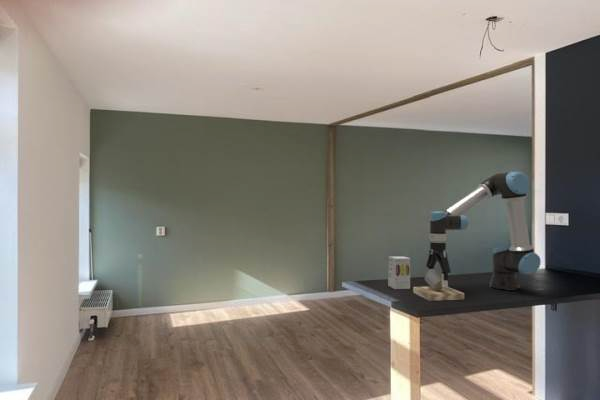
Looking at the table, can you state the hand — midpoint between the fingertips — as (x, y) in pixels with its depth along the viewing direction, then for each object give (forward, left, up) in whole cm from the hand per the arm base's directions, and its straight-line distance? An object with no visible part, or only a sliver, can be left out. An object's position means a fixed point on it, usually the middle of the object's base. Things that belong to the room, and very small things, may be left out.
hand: (437, 284), depth 208 cm
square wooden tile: (0, 0, -6) cm, 6 cm away
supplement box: (+11, -23, -6) cm, 26 cm away
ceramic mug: (0, 0, -3) cm, 3 cm away
